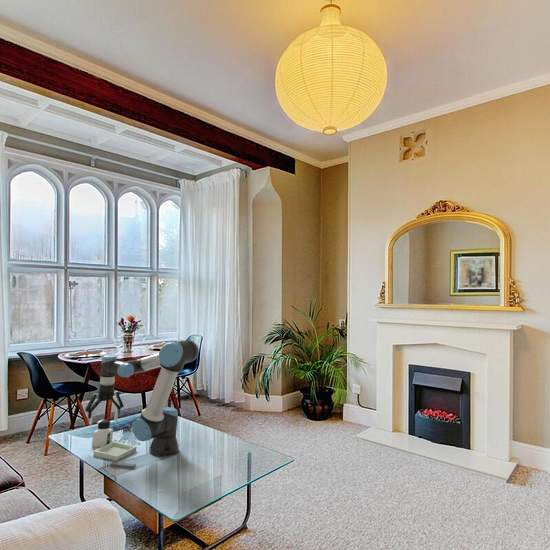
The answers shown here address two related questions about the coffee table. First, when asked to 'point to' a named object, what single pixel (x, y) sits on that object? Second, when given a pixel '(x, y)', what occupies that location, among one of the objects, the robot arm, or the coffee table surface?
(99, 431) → the container
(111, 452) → the parts tray
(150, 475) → the coffee table surface
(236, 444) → the coffee table surface
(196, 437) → the coffee table surface
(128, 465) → the puller tool
